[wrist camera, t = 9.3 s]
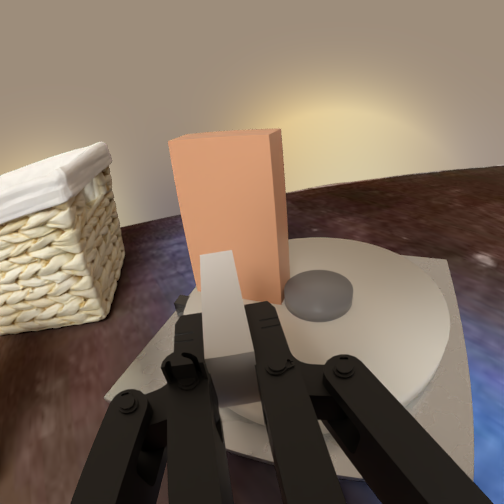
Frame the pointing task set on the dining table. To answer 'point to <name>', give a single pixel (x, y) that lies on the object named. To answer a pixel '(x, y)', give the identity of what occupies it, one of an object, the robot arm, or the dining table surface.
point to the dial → (305, 267)
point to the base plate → (258, 447)
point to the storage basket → (58, 242)
